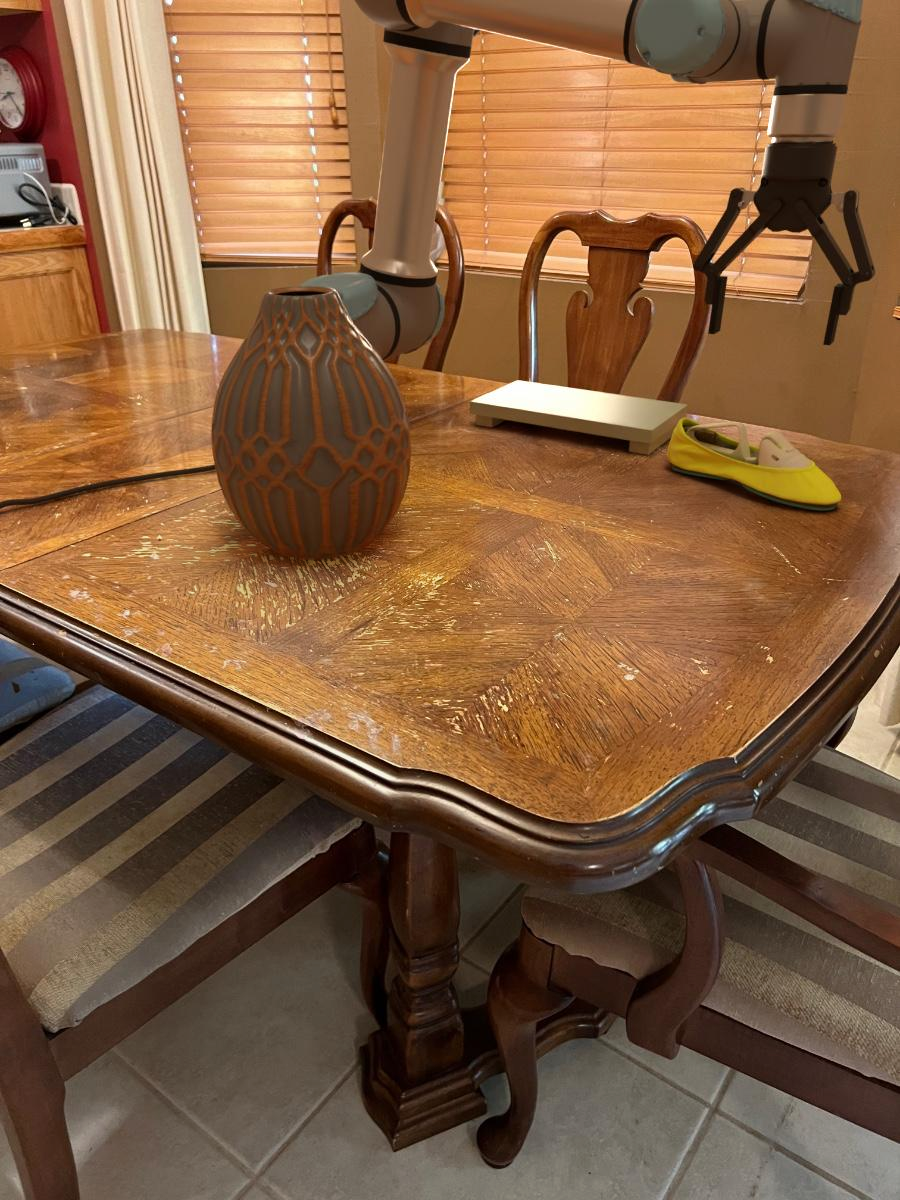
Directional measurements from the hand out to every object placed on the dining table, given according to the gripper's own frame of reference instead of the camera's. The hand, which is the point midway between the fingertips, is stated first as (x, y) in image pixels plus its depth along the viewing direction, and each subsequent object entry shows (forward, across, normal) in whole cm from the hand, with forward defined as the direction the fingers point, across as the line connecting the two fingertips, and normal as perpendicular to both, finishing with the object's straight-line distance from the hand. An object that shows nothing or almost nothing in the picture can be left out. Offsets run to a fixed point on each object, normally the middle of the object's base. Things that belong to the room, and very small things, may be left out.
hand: (769, 337), depth 105 cm
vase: (+19, +37, +43) cm, 60 cm away
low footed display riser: (+19, +30, -12) cm, 37 cm away
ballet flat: (+19, 0, +1) cm, 19 cm away
